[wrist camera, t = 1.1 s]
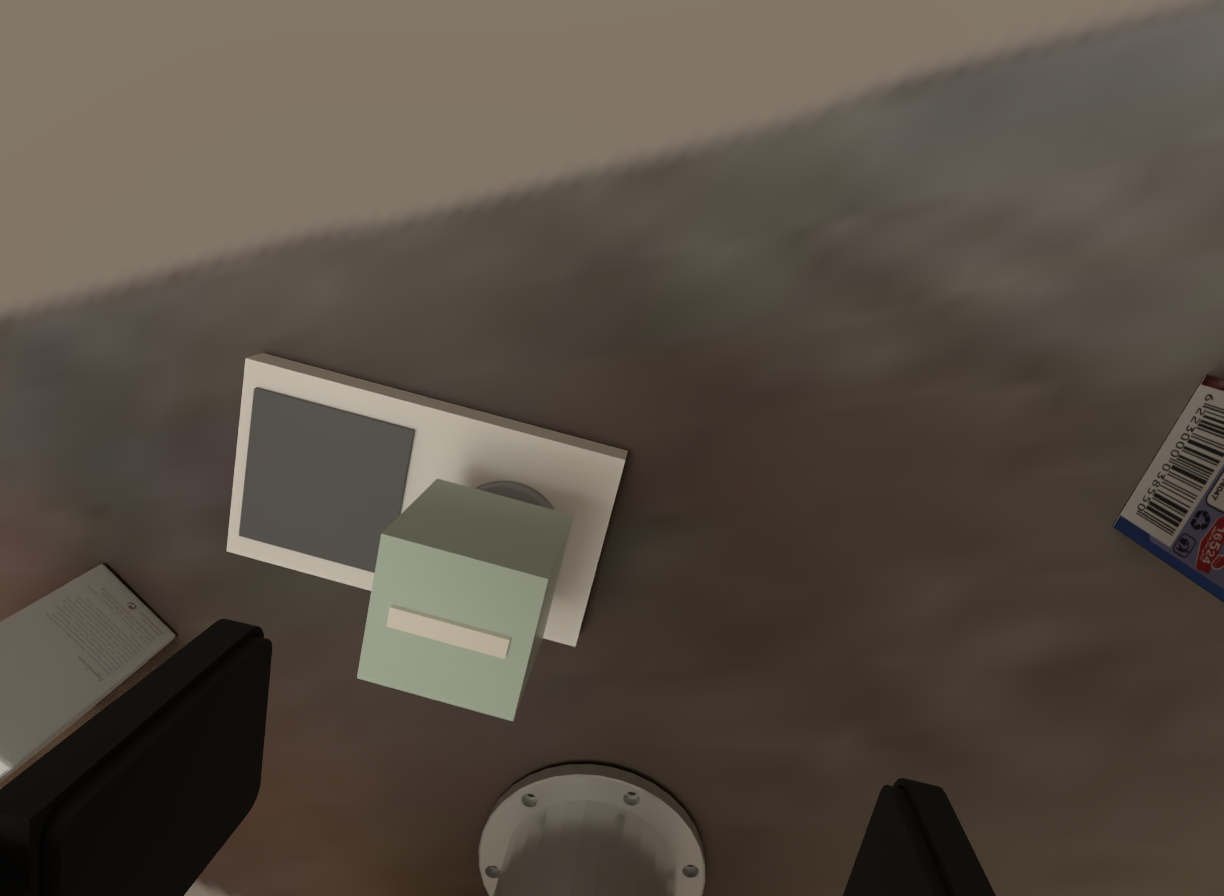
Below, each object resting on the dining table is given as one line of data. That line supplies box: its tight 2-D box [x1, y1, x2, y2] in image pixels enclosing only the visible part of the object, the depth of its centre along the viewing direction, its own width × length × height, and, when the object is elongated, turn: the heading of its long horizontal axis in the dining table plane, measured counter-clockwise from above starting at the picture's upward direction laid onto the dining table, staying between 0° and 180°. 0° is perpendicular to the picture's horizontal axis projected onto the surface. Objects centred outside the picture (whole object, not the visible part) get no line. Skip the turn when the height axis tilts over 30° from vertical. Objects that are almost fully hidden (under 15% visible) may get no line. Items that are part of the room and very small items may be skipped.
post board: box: [227, 353, 628, 647], centre depth 32 cm, size 18×10×10 cm, turn 76°
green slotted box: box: [357, 478, 574, 721], centre depth 29 cm, size 6×6×6 cm
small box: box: [0, 564, 176, 782], centre depth 36 cm, size 8×6×10 cm
